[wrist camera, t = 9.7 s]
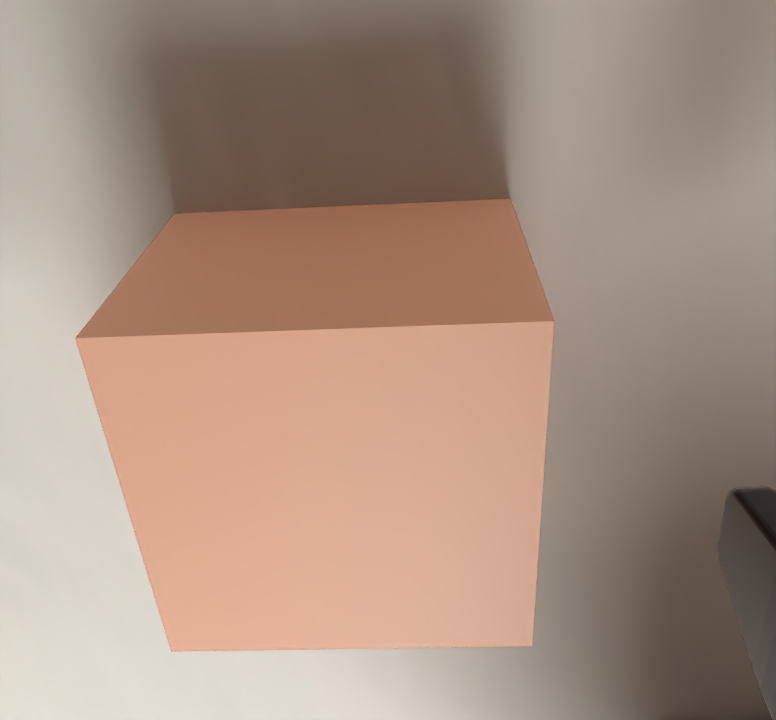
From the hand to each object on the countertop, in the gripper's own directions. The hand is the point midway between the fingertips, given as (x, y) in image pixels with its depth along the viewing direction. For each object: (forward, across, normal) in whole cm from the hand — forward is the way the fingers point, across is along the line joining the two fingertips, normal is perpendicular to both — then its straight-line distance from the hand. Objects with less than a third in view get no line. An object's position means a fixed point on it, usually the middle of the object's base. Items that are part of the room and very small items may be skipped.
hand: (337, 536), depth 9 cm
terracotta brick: (+4, 0, 0) cm, 4 cm away
